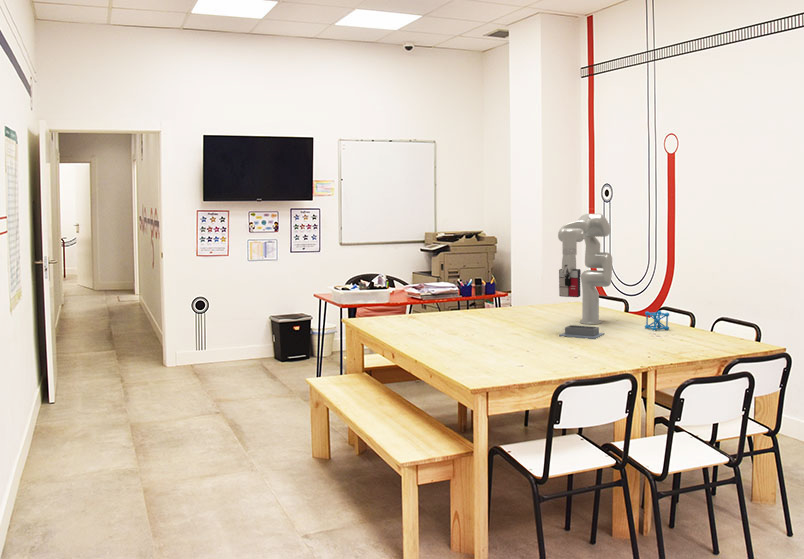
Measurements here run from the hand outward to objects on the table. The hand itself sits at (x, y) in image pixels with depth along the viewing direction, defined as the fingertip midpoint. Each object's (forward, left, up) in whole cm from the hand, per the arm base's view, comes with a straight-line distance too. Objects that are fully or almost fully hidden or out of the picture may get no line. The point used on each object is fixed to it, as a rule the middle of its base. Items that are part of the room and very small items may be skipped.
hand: (569, 285), depth 400 cm
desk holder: (+1, +7, -27) cm, 28 cm away
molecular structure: (-35, +38, -27) cm, 59 cm away
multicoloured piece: (-1, 0, -7) cm, 7 cm away
